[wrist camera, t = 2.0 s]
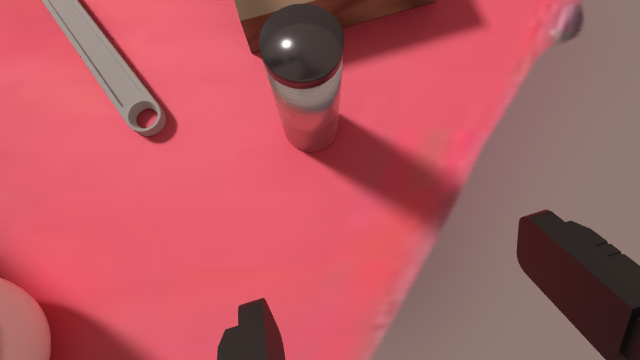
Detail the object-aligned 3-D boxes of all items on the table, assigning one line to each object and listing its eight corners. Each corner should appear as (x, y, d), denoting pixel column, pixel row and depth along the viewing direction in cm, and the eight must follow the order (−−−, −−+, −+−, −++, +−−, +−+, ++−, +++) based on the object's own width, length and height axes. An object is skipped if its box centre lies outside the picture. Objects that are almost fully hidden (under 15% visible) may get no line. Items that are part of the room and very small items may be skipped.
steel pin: (292, 158, 28) (271, 89, 17) (278, 110, 29) (249, 16, 18) (344, 143, 28) (355, 65, 17) (328, 95, 29) (329, -6, 18)
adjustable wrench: (177, 125, 29) (168, 116, 28) (102, 170, 29) (88, 164, 27) (42, -92, 34) (27, -111, 32) (-24, -58, 33) (-43, -76, 32)
